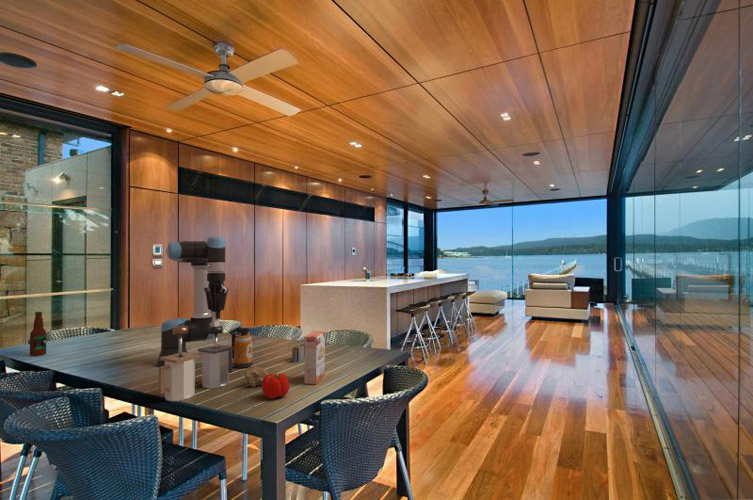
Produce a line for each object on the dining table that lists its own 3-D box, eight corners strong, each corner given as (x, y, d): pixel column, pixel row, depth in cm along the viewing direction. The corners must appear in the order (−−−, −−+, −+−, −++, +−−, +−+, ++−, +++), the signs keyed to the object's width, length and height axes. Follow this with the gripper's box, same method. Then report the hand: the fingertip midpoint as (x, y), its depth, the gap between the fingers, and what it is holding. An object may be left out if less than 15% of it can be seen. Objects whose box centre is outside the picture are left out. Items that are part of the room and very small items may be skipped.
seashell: (258, 378, 182) (258, 361, 182) (275, 380, 180) (275, 362, 181) (242, 388, 169) (242, 369, 169) (260, 389, 167) (260, 370, 167)
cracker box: (317, 385, 172) (317, 336, 173) (303, 384, 173) (303, 336, 174) (325, 375, 186) (325, 330, 187) (313, 375, 187) (312, 330, 188)
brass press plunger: (166, 368, 158) (166, 327, 158) (182, 364, 164) (182, 325, 164) (177, 370, 154) (177, 329, 154) (194, 366, 160) (194, 326, 161)
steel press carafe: (197, 386, 172) (197, 349, 172) (223, 378, 183) (223, 343, 184) (213, 390, 166) (213, 351, 167) (239, 381, 178) (239, 345, 179)
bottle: (38, 356, 227) (39, 312, 228) (26, 356, 227) (26, 312, 228) (49, 353, 234) (50, 310, 235) (37, 353, 234) (37, 311, 235)
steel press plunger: (203, 364, 172) (203, 327, 173) (217, 360, 179) (217, 325, 179) (214, 366, 169) (214, 328, 169) (228, 362, 175) (228, 326, 176)
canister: (246, 369, 198) (246, 328, 199) (226, 368, 201) (226, 328, 201) (255, 364, 207) (255, 325, 208) (236, 363, 209) (236, 325, 210)
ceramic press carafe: (151, 401, 154) (151, 359, 154) (183, 390, 166) (183, 352, 166) (168, 405, 149) (168, 362, 149) (199, 394, 161) (200, 354, 161)
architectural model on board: (297, 363, 210) (297, 345, 210) (292, 363, 211) (292, 344, 211) (306, 358, 221) (306, 340, 221) (301, 358, 222) (301, 340, 222)
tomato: (256, 399, 155) (256, 377, 155) (273, 391, 165) (273, 369, 165) (279, 403, 151) (279, 380, 151) (295, 394, 161) (295, 372, 161)
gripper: (199, 272, 175) (198, 326, 174) (219, 272, 168) (219, 328, 168) (213, 272, 181) (213, 324, 181) (233, 272, 175) (233, 326, 174)
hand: (216, 326), depth 174 cm, fingers closed
